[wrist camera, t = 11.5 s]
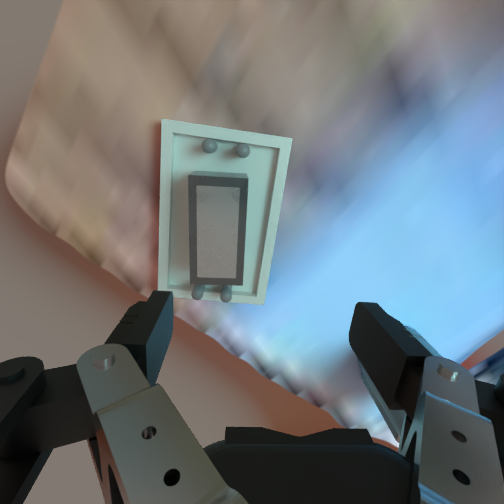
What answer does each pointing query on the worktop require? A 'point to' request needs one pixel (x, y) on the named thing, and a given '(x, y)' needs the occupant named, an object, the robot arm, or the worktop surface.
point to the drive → (217, 227)
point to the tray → (258, 203)
